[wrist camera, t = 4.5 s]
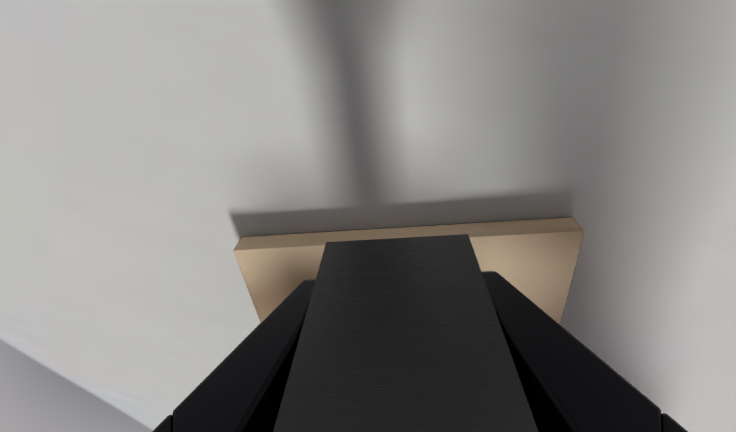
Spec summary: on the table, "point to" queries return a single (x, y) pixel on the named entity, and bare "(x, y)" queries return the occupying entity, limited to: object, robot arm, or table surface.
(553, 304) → the base plate
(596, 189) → the table surface
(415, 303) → the shaft
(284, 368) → the robot arm
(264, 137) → the table surface
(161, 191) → the table surface
